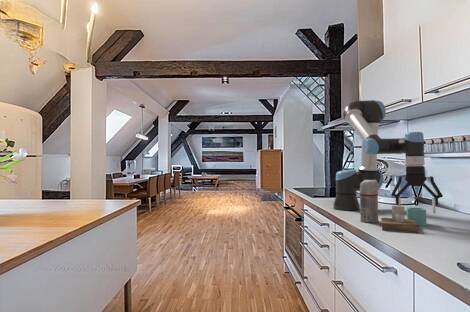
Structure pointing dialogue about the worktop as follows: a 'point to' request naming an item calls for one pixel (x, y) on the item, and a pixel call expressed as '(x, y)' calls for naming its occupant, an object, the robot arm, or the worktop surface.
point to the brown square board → (399, 221)
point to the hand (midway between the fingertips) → (416, 212)
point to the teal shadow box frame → (417, 215)
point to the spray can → (369, 201)
